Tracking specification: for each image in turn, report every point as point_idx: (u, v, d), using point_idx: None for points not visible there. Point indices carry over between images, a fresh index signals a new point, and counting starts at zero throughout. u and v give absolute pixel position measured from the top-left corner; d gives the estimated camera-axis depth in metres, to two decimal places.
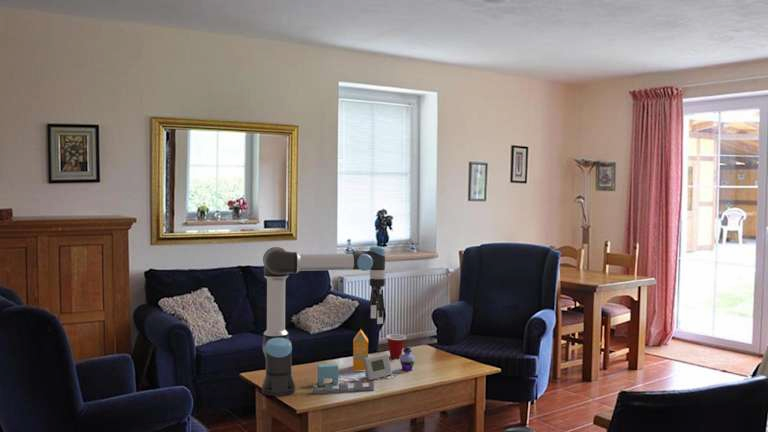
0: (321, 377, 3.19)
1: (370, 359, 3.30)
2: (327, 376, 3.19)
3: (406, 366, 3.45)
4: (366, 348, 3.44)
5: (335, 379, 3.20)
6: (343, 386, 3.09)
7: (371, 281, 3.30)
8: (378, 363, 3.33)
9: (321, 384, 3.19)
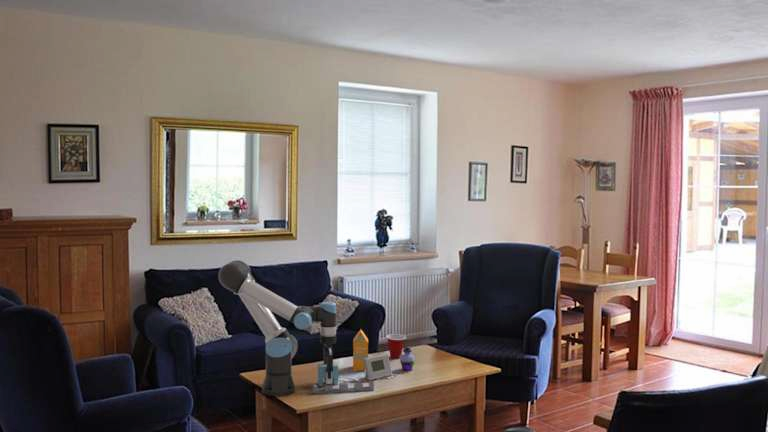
0: (321, 377, 3.19)
1: (370, 360, 3.30)
2: None
3: (406, 366, 3.45)
4: (366, 348, 3.44)
5: (335, 379, 3.20)
6: (343, 386, 3.09)
7: (321, 338, 3.18)
8: (378, 363, 3.33)
9: (321, 384, 3.19)
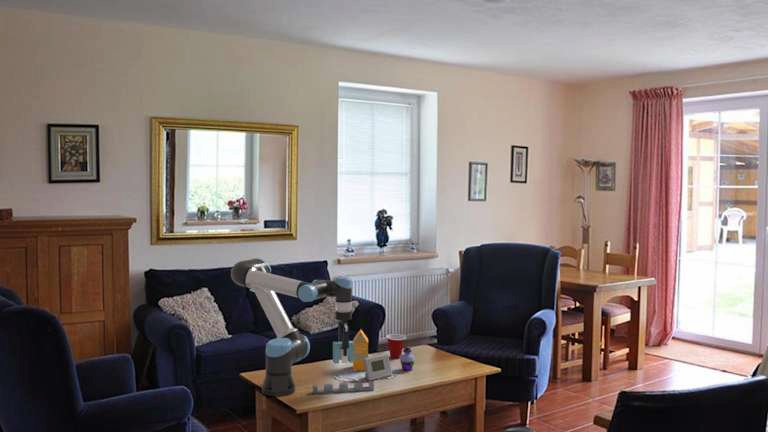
0: (337, 354, 3.07)
1: (370, 360, 3.30)
2: None
3: (406, 366, 3.45)
4: (366, 348, 3.44)
5: (351, 357, 3.09)
6: (343, 386, 3.09)
7: (337, 314, 3.07)
8: (378, 363, 3.33)
9: (337, 362, 3.07)
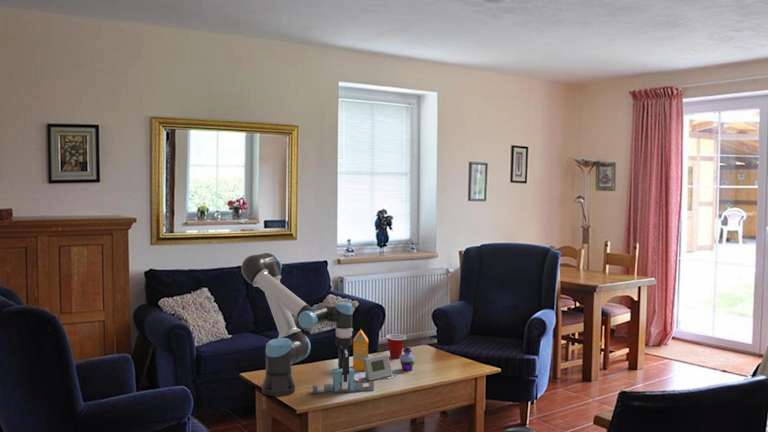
0: (337, 382, 3.07)
1: (370, 360, 3.30)
2: None
3: (406, 366, 3.45)
4: (366, 348, 3.44)
5: (351, 384, 3.09)
6: None
7: (337, 340, 3.07)
8: (378, 363, 3.33)
9: (337, 389, 3.07)
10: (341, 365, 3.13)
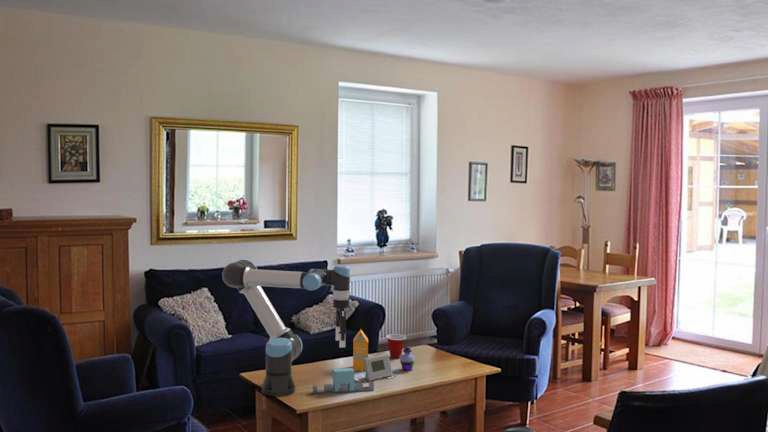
0: (337, 382, 3.07)
1: (370, 360, 3.30)
2: (343, 381, 3.08)
3: (406, 366, 3.45)
4: (366, 348, 3.44)
5: (351, 384, 3.09)
6: (343, 386, 3.09)
7: (334, 302, 3.14)
8: (378, 363, 3.32)
9: (337, 389, 3.07)
10: (338, 323, 3.23)
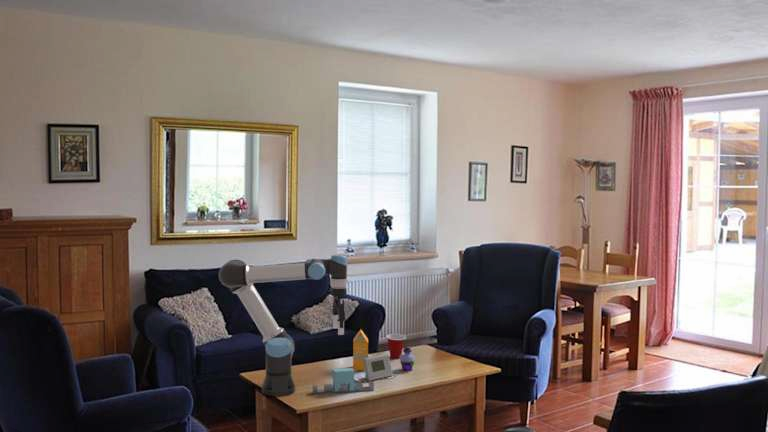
0: (337, 382, 3.07)
1: (370, 360, 3.30)
2: (343, 381, 3.08)
3: (406, 366, 3.45)
4: (366, 348, 3.44)
5: (351, 384, 3.09)
6: (343, 386, 3.09)
7: (332, 290, 3.20)
8: (378, 363, 3.32)
9: (337, 389, 3.07)
10: (335, 312, 3.28)
